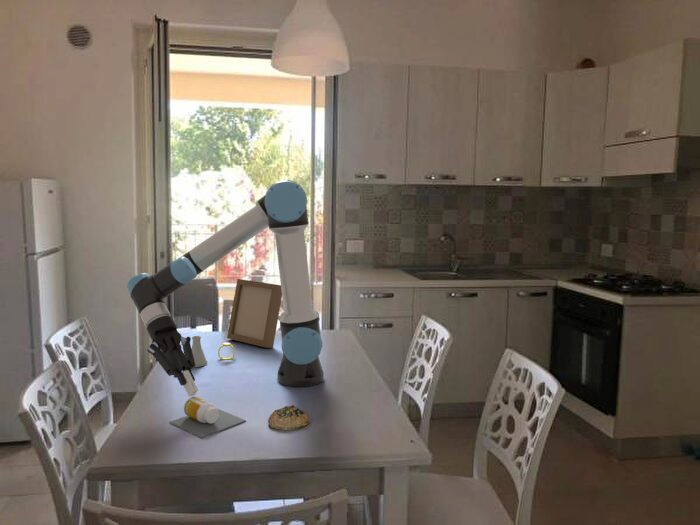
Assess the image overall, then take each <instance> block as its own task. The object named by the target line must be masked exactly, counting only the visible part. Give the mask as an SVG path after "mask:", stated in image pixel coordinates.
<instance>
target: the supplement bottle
mask: <svg viewBox="0 0 700 525" xmlns="http://www.w3.org/2000/svg"><path fill="white" fill-rule="evenodd" d="M216 408H217V407H215V405H214V404H213V403H211V402H209V401H207V400H205V399H202V398H201V397H198V396H190V397H189V398H187V400H186V401H185V403H184V405H183V412H184V414H185V416H189V417H191V418H193V419H195V420H197V421H199V422H201V423H214V422H215V421H216V420H217V419H218V417H219V411H218V410H217V409H218V408H217V409H216Z"/></svg>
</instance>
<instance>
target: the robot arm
mask: <svg viewBox="0 0 700 525" xmlns="http://www.w3.org/2000/svg"><path fill="white" fill-rule="evenodd" d="M266 190H267V191H266V192H265V195H263V196H262V197H260V198H259V199H258V200H256V203H255V206H253V207H252V208H251V209H249V210H247V211H246V212H245V213H243V214H241V215H240V216H238V217H237V218H236V219H234V220H233V221H232V222H230V223H228V224H227V225H225V226H224V227H222V228H221V229H219V230H218V231H217V232H215V233H213V234H211V236H209V237H208V238H206V239H205V240H203V241H202V242H200V243H198V244H197V245H196V246H195V247H193V248H192V249H190V250H189V251H187V252H186V253H184V254H183V255H182V256H180V257H178V258H176V259H174V260H173V261H171V262H170V263H169V264H166V265H165V266H164V267H163V268H161V269H160V270H158V271H156V272H155V273H154V274H152V275H151V274H149V273H147V272H141V273H139V274H137V275H134V276H132V277H131V278H130V279H129V280H128V281H127V286H126V287H127V290H128V293H129V296H130V298H131V300H132V302H133V304H134V306H135V308H136V310H137V312H138V314H139V316H140V318H141V320H142V323H143V325H144V326H145V328H146V332H147V333H148V335H149V337H150V339H151V340H152V341H151V342H152V343H150V344H149V346H148V348H147V349H146V351H147V352H148V353H149V354H151V355H152V356H153V357H154V358H155V360H156V361H157V362H158V364H159V365H160V367H161V368H162V369H163V371H165V373H166V374H167V375H168V376H170V377H171V376H173V378H175V379H177V381H178V383H179V384H180V386H183V388H184V390H185V392H186V394H187V396H188V397H189V398H191V397H195V395H196V393H198V391H199V389H198V387H197V385H196V382H195V381H196V378H195V375H194V374H193V372H192V371H193V369H194V368H195V367H194V366H195V361H194V357H193V353H192V344H191V340H192V337H191V336H186V337H184V336H182V334H181V333H180V332H178V328H177V325H176V323H175V321H174V319H173V317H172V316H171V312H170V311H169V309H168V307H167V305H166V302H165V300H164V299H166V298H167V297H169V295H171V294H173V293H175V292H177V290H179V289H181V288H182V287H184V286H186V285H189V284H190V283H191V282H192V281H193V280H194V279H195V278H196V277H197V276H198V275H200V274H201V273H202V272H204V271H205V270H206V269H208V268H209V267H211V266H212V265H214V264H215V263H217V262H218V261H220V260H221V259H222V258H224V257H226V256H228V254H230V253H231V252H233V251H234V250H236V249H238V248H239V247H240V246H242V245H244V244H245V243H246V242H248V241H250V240H251V239H253V238H254V237H256V235H258V234H260V233H261V232H263V231H264V230H266V229H267V228H268V229H269V230H270V231H271V232H272V233H273V234H274V236H275V237H274V238H275V248H276V254H277V262H278V272H279V280H280V285H281V290H282V298H281V300H282V306H283V314H282V315H281V317H280V318H279V324H280V333H281V334H280V336H281V351H282V358H281V362H280V364H279V367H278V371H277V376H276V378H277V379H276V380H277V382H278V383H280V384H281V385H284V386H288V387H298V388H299V387H311V386H315V385H318V384H321V383H322V382H323V381H324V369H323V366H322V364H321V361H320V357H319V356H320V354H321V351H322V349H323V339H322V336H321V327H320V320H321V319H320V313H319V312H318V311H316V310H314V309H313V302H312V301H313V300H312V299H313V298H312V291H311V282H310V274H309V272H310V271H309V264H308V255H307V254H308V253H307V244H306V236H305V230H306V229H307V227H308V226H309V224H310V223H309V215H308V206H307V205H308V198H307V194H306V191H305V190H304V188H303V187H302V186H301V185H300V184H299V183H297V182H295V180H294V181H293V180H290V179H283V180H277V181H275V182H274V183H272V184H271V185H270V186H269V187H268V188H267V189H266Z"/></svg>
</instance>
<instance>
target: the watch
mask: <svg viewBox="0 0 700 525" xmlns="http://www.w3.org/2000/svg"><path fill="white" fill-rule="evenodd" d="M223 347H231V348H232V349H233V354H232V355H231V356H230V357H222V356H221V354H220V351H221V349H222V348H223ZM217 354H218V358H220V360H223V361H225V360H224V359H226V360H233V358H234V357H235V355H236V350H235V347H234V346H233V345H232V344H231V342H223V343H222V344H221V345H220V346H219V348H218V350H217Z"/></svg>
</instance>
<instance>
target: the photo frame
mask: <svg viewBox="0 0 700 525" xmlns="http://www.w3.org/2000/svg"><path fill="white" fill-rule="evenodd" d="M281 303H282V290H281V284H275V283H268V282H262V281H256V280H249V279H242V278H241V279H240V278H237V279H236V286H235V290H234V297H233V302H232V308H231V313H230V319H229V323H228V329H227V336H226V338H227V339H229V340H234V341H236V342H243V343H245V344H250V345H252V346H253V345H254V346H259V347H262V348H272V349H273V348H274V344H275V340H276V339H275V338H276V333H277V332H276V331H277V327H278V320H279V314H280V311H281V310H280V309H281Z"/></svg>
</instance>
